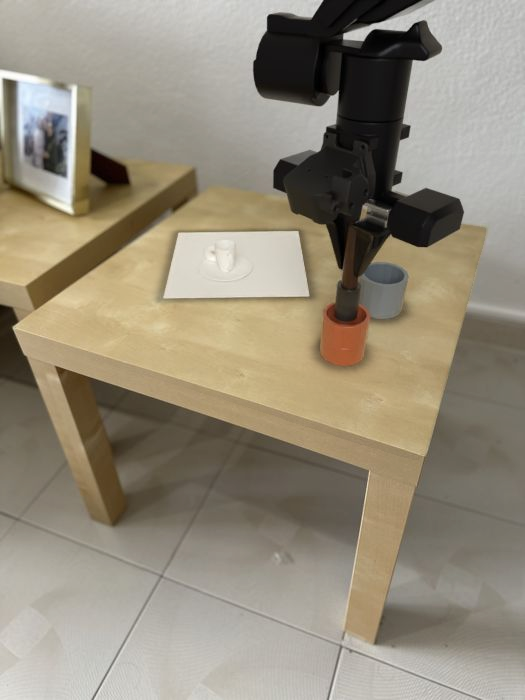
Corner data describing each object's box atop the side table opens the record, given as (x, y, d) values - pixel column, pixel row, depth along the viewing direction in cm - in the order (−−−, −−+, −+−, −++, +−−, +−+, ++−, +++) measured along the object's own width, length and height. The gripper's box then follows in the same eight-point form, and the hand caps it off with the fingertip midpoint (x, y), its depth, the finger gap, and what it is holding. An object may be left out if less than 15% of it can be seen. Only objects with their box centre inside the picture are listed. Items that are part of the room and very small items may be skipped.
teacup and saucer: (201, 254, 79) (198, 230, 77) (252, 253, 79) (252, 229, 77) (196, 284, 72) (194, 258, 70) (252, 283, 72) (252, 257, 70)
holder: (373, 352, 60) (379, 314, 57) (344, 372, 58) (349, 333, 54) (339, 333, 63) (343, 295, 60) (310, 351, 61) (313, 312, 57)
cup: (410, 306, 68) (417, 274, 65) (383, 324, 65) (389, 291, 62) (374, 289, 71) (379, 257, 68) (346, 305, 68) (350, 272, 65)
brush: (361, 315, 57) (375, 224, 50) (346, 324, 56) (358, 232, 49) (344, 306, 59) (355, 215, 52) (329, 314, 57) (338, 223, 50)
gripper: (229, 109, 45) (235, 265, 55) (405, 162, 34) (373, 344, 44) (315, 89, 51) (306, 233, 61) (488, 130, 40) (444, 297, 50)
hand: (350, 272), depth 54 cm, fingers closed on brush, 2 cm apart
